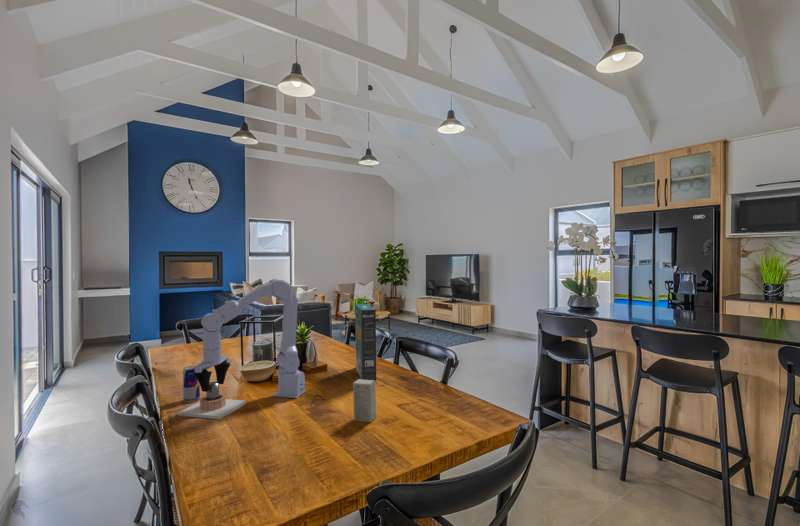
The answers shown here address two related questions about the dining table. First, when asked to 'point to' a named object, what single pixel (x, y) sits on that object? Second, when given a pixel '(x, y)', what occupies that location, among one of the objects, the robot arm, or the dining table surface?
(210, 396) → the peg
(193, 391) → the energy drink
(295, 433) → the dining table surface
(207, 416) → the collar board
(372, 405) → the skincare box
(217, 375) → the robot arm
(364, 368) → the cake mix box
